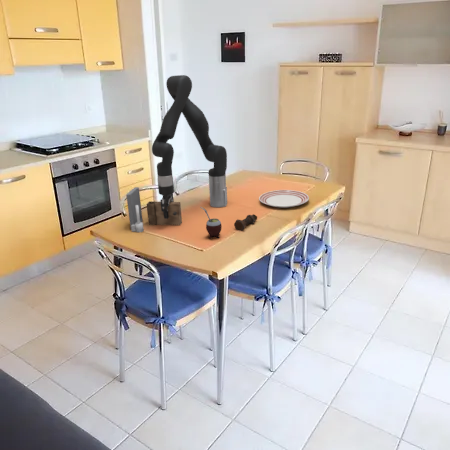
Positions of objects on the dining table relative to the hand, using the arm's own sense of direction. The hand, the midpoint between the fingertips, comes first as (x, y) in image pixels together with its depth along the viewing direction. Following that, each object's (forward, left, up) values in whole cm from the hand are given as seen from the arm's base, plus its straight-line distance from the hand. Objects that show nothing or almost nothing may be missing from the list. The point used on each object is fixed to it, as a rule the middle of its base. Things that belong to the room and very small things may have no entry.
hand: (168, 215), depth 213 cm
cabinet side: (+14, +4, -4) cm, 15 cm away
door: (+2, 0, -4) cm, 5 cm away
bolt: (-39, 0, -5) cm, 40 cm away
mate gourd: (-25, +15, -5) cm, 30 cm away
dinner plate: (-56, -36, -5) cm, 67 cm away
